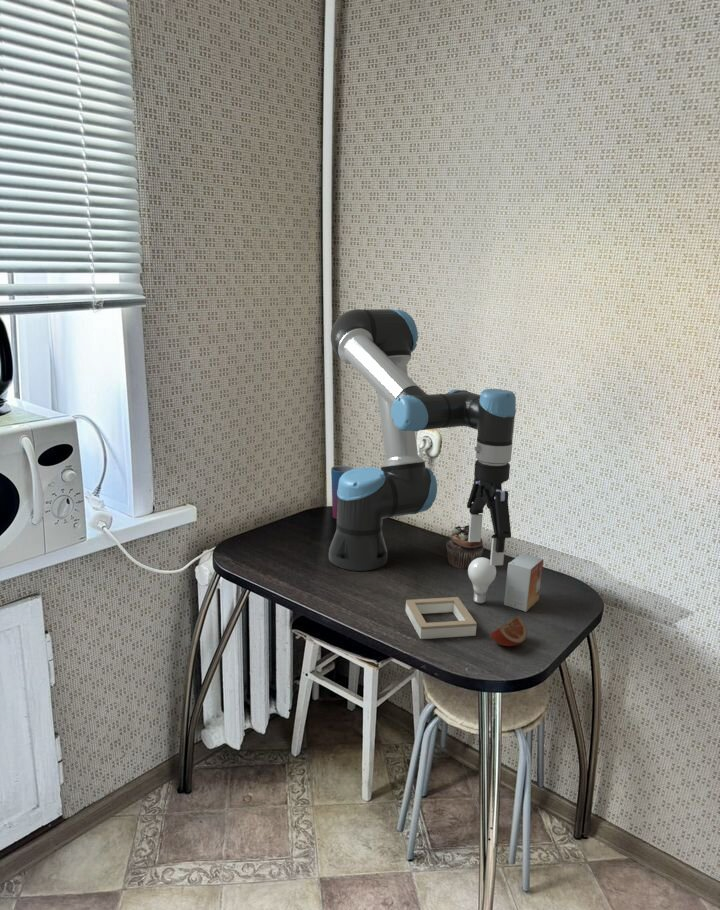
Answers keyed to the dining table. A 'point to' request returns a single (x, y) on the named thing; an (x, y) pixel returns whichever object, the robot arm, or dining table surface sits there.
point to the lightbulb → (481, 577)
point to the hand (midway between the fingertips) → (484, 552)
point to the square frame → (440, 629)
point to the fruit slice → (510, 633)
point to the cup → (335, 475)
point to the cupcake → (462, 548)
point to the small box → (523, 582)
